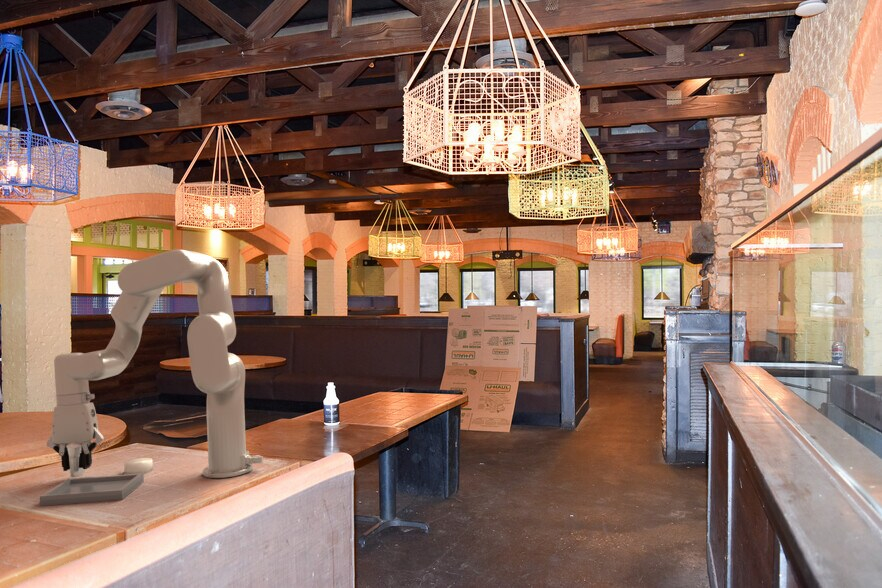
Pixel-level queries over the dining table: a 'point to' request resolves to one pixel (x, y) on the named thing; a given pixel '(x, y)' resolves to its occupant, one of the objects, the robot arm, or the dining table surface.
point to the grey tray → (92, 489)
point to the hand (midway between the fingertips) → (77, 468)
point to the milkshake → (75, 459)
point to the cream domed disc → (138, 466)
